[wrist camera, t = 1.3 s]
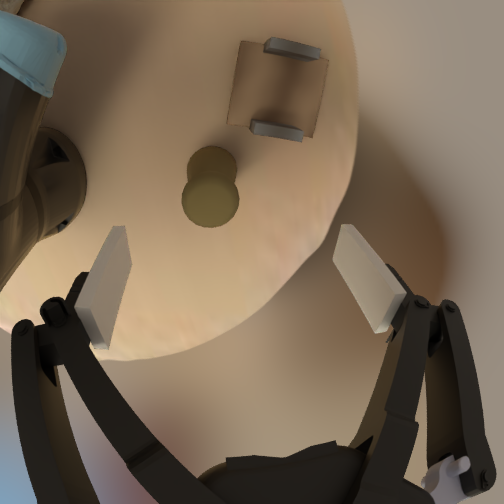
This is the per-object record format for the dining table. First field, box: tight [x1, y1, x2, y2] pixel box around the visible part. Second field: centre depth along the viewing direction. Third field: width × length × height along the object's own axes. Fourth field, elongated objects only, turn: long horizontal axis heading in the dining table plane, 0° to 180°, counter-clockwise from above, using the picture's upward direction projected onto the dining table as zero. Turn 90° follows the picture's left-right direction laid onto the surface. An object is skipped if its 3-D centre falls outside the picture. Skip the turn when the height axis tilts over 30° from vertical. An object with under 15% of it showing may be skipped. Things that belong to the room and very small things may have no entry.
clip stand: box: [227, 37, 329, 142], centre depth 26 cm, size 10×10×5 cm
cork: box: [182, 146, 239, 228], centre depth 28 cm, size 6×6×11 cm
